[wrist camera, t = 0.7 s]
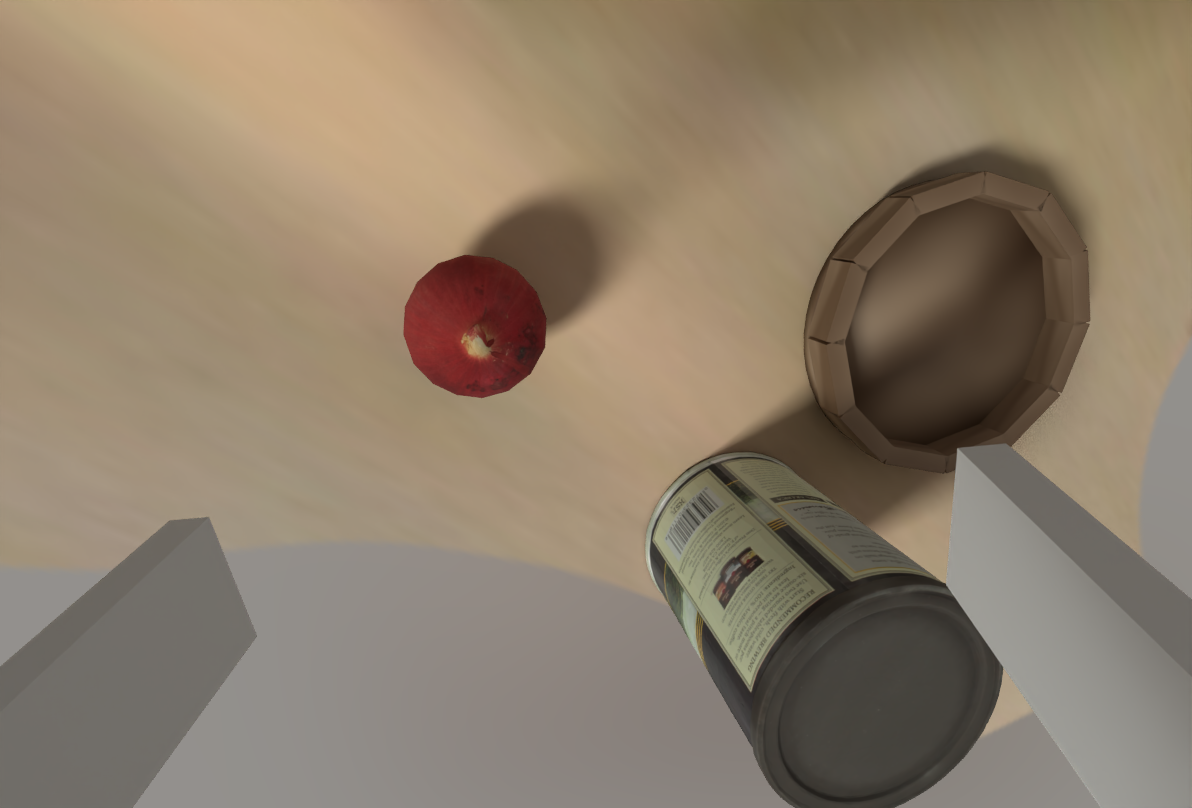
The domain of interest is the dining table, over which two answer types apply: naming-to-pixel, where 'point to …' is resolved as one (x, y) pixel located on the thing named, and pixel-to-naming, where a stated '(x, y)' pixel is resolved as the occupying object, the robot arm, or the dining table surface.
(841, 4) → the dining table surface
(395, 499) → the dining table surface
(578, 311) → the dining table surface
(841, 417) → the tray
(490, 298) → the onion
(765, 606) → the coffee can
